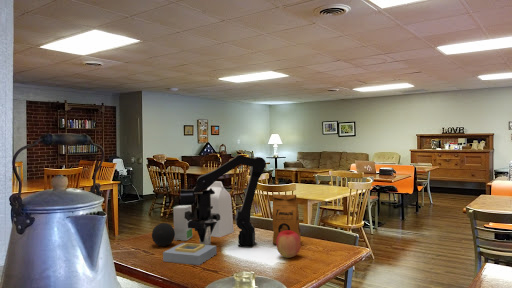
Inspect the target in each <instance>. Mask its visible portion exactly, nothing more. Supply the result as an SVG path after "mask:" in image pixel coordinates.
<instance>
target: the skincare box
mask: <svg viewBox="0 0 512 288" xmlns="http://www.w3.org/2000/svg"><path fill="white" fill-rule="evenodd" d="M172 210H173V211H172V212H173V229H174V231H175V237H174V239H173V241H177V240H181V241H182V242H187V241H188V240H189V239H192V238H193V228H188V222H189V221H187V219H185V218H184V217H185V212H187V211H190V212H193V211H192V205H183V206H180V205H176V206H174V207H173V209H172ZM190 221H191V220H190ZM181 241H180V242H181Z"/></svg>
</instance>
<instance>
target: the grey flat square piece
mask: <svg viewBox="0 0 512 288" xmlns="http://www.w3.org/2000/svg"><path fill="white" fill-rule="evenodd" d="M217 254H218V253H217V245H212V244H211V245H205V244H200V243H193V242H191V243H190V242H181V243H179V244H177V245H175V246H173V247H170V248H169V249H166V250H165V251H162V261H163V262H166V263H167V262H168V263H175V264H184V265H185V264H186V265H194V266H200V265H202V264H204V263H205V262H206V260H207V261H208V260H210V259H212V258H214V257H215V256H217ZM214 255H215V256H214ZM211 257H212V258H211ZM203 262H204V263H203Z"/></svg>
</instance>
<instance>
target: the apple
mask: <svg viewBox="0 0 512 288" xmlns="http://www.w3.org/2000/svg"><path fill="white" fill-rule="evenodd" d="M275 245H276V248H277V251H278V253H279V255H280V256H282V257H284V258H287V259H289V258H293V257H295V256H297V255H298V253H299V252H300V250H301V245H302V241H300V238H299V235H298V234H297V233H295V232H294V231H290V230H286V231H281V232H280V233H279V234H278V236H277V240H276V244H275Z"/></svg>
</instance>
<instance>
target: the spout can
mask: <svg viewBox="0 0 512 288" xmlns="http://www.w3.org/2000/svg"><path fill="white" fill-rule="evenodd" d="M194 231H195V232H197V230H195V229H194ZM211 237H212V236H211V231H210V226H207V231H206V235H205V239H204V242H201V241H200V238H199V237H198V238H199V244H205V245H212V240H211V239H212V238H211Z"/></svg>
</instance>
